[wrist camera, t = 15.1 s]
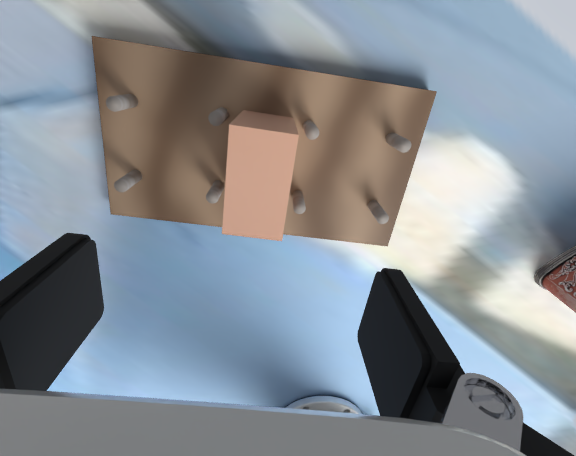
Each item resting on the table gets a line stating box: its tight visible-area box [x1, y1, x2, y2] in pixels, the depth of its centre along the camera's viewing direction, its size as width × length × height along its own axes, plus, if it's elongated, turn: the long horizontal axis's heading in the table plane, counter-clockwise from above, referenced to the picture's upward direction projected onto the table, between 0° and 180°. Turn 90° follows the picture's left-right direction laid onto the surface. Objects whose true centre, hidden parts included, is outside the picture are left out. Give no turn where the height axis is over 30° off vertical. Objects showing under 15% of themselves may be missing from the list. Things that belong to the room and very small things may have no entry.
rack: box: [92, 36, 437, 246], centre depth 26 cm, size 26×14×4 cm, turn 82°
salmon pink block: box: [222, 110, 299, 241], centre depth 23 cm, size 4×7×8 cm, turn 171°
